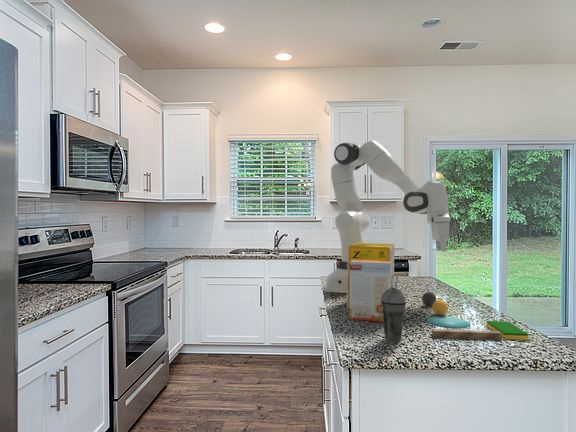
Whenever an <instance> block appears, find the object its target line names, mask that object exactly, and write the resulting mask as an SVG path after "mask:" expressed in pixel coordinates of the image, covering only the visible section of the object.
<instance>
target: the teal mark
mask: <svg viewBox="0 0 576 432" xmlns="http://www.w3.org/2000/svg"><path fill="white" fill-rule="evenodd" d="M426 321H427V322H428V323H429V324H431V325H434V326H436V327H441V328H446V329H447V328H448V329H465V328H469V327H471V322H469V321H467V320H465V319H461V318H458V317H451V316H431V317H428V318H427V319H426Z"/></svg>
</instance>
